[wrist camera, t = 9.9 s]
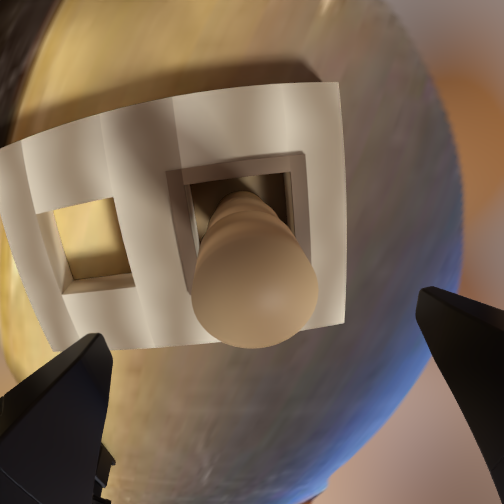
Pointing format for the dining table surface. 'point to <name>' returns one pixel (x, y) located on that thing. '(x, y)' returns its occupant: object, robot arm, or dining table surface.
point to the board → (172, 204)
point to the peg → (251, 276)
